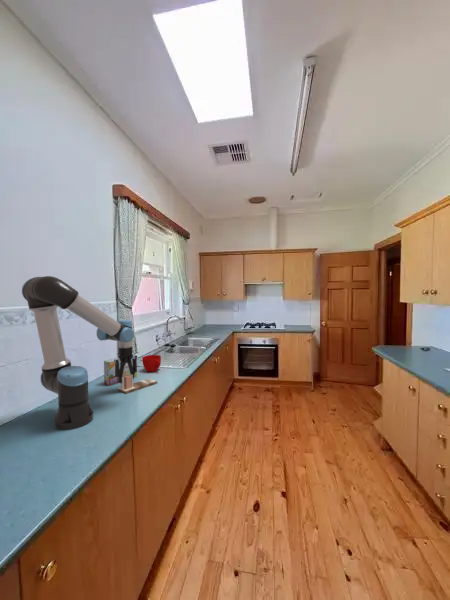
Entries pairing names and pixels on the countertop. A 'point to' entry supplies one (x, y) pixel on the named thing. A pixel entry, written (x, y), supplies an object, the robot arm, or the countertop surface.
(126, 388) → the stub
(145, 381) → the board
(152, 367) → the ceramic cup
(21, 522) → the countertop surface
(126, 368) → the snack box
